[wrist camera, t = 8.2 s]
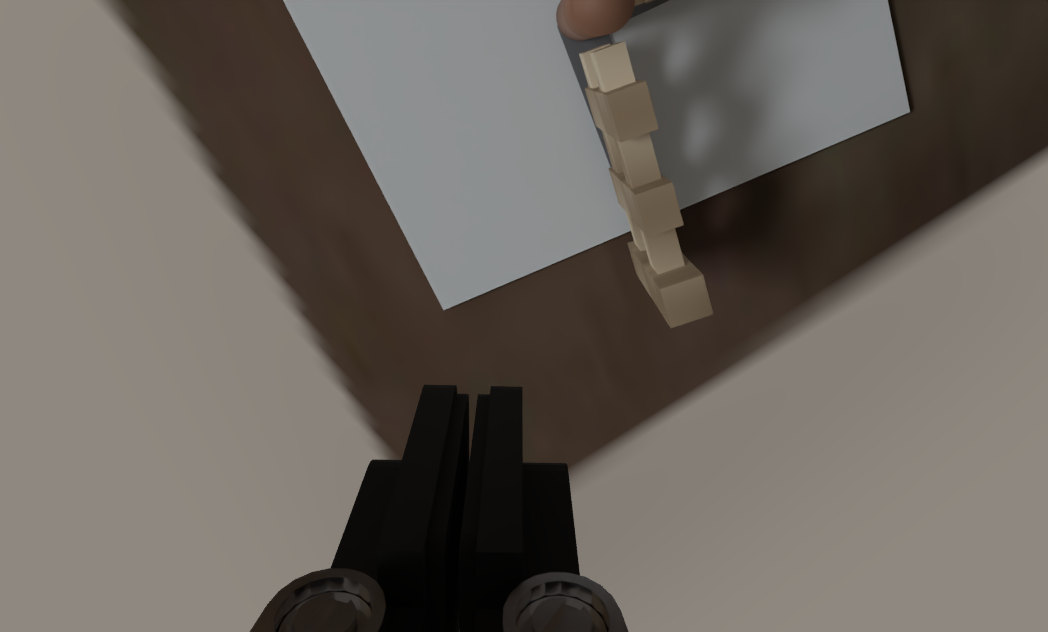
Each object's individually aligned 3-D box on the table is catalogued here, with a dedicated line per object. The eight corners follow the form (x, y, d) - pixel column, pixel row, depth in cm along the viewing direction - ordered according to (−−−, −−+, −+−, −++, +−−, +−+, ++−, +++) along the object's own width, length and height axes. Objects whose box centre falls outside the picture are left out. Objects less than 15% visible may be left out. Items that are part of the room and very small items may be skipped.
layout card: (799, -408, 17) (805, -419, 16) (904, 111, 22) (911, 112, 21) (230, -107, 19) (225, -111, 18) (444, 307, 24) (443, 311, 23)
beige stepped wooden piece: (549, 0, 20) (566, -20, 15) (594, -17, 19) (625, -43, 15) (632, 272, 23) (667, 329, 18) (670, 259, 23) (716, 313, 18)
